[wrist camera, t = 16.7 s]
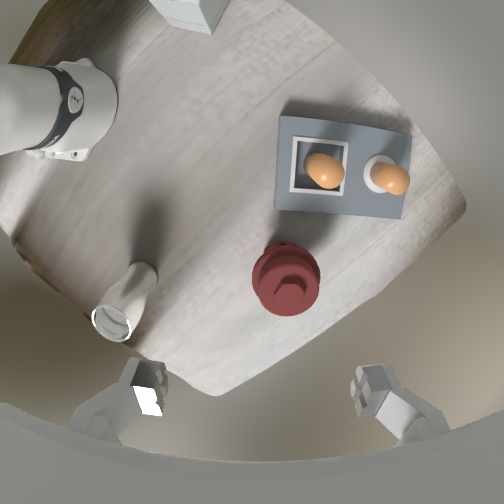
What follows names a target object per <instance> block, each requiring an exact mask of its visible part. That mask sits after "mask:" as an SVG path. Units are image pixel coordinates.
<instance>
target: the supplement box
mask: <svg viewBox="0 0 504 504" xmlns="http://www.w3.org/2000/svg"><path fill="white" fill-rule="evenodd" d="M149 1H150V2H151V3H152V5H153V6H154V7H155V8H156V9H157V10H158V11H159V12H160V13H161V15H162V16H163V17H164V18H165V19H166V20H167V21H168V23H169V24H170V25H171V26H172V27H177V28H182V29H187V30H192V31H196V32H201V33H205V34H210V35H212V34H213V32H214V30H215V28H216V26H217V24H218V22H219V20H220V18H221V16H222V14H223V12H224V10H225V8H226V7H227V5H228V3H229V0H149Z"/></svg>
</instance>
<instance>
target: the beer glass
mask: <svg viewBox="0 0 504 504" xmlns="http://www.w3.org/2000/svg"><path fill="white" fill-rule="evenodd" d="M156 284H157V274H156V272H155V270H154V269H153V268H152V267H151V266H150V265H149V264H147V263H145V262H135V263H133V264H131V265H130V266H129V268H128V270H127V272H126V275H125V276H124V277H123V278H122V279H121V280H119V281H118V282H116V283H115V284H114V285H112V286H111V287H110V288H109V289H108V290H107V291H106V292H105V293H104V295H103V296H102V297H101V299H100V300H99V302H98V304H97V305H96V307H95V309H94V310H93V312H92V322H93V325H94V327H95V328H96V330H97V331H98V332H99V333H100V334H101V335H102V336H104V337H105V338H107V339H109V340H111V341H116V342H122V341H125V340H127V339H128V338H129V337H130V335H131V333H132V332H133V330H134V329H135V327H136V326H137V324H138V322H139V321H140V319H141V317H142V314H143V312H144V308H145V305H146V300H147V296H148V294H149V292H150V291H151V290H153V289H154V287H155V286H156Z"/></svg>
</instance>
